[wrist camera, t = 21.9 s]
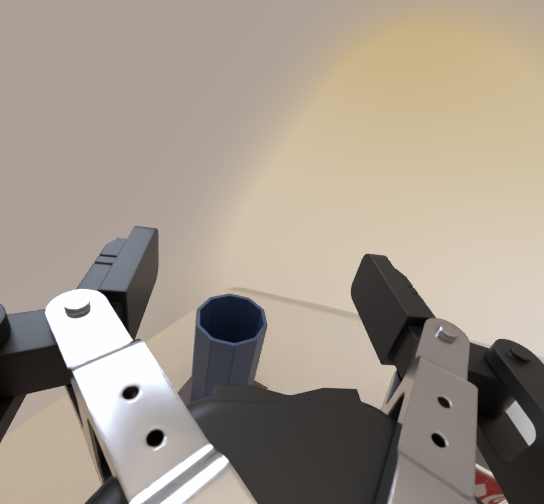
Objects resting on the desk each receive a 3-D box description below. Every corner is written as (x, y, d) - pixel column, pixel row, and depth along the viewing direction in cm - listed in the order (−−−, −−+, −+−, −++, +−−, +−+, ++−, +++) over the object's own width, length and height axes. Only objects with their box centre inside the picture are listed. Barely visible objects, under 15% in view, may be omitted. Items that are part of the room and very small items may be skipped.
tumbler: (176, 408, 32) (180, 323, 26) (212, 365, 37) (222, 285, 31) (227, 440, 30) (244, 358, 24) (257, 390, 35) (277, 311, 29)
